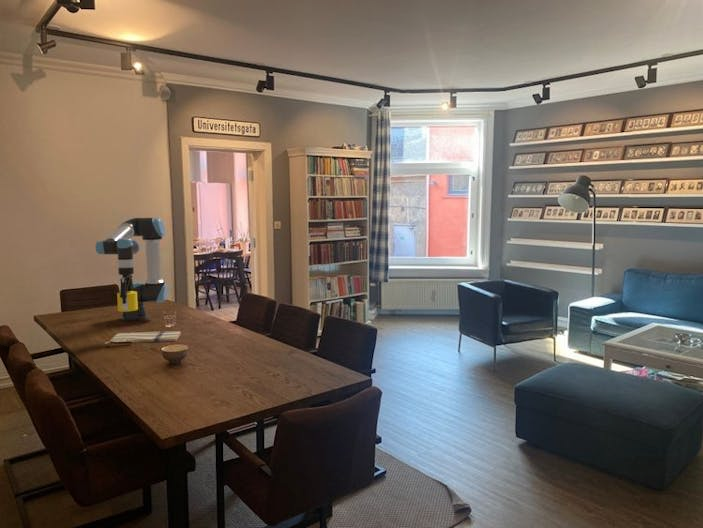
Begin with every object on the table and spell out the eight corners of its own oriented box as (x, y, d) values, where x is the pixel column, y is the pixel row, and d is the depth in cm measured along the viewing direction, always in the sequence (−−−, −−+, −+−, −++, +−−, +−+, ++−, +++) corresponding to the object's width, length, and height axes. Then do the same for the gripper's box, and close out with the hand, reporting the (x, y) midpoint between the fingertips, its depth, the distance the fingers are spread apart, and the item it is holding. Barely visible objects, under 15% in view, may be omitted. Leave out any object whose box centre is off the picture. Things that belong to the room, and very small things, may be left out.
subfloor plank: (118, 335, 295) (118, 332, 295) (180, 333, 300) (180, 330, 300) (109, 343, 279) (109, 340, 279) (175, 341, 284) (175, 338, 284)
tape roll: (130, 311, 280) (129, 294, 279) (113, 311, 282) (113, 293, 281) (141, 308, 290) (140, 291, 289) (125, 307, 292) (124, 290, 291)
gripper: (124, 264, 294) (126, 303, 297) (112, 269, 272) (114, 311, 274) (138, 264, 295) (140, 303, 298) (127, 269, 273) (129, 311, 275)
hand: (127, 307), depth 286 cm, fingers closed on tape roll, 10 cm apart
